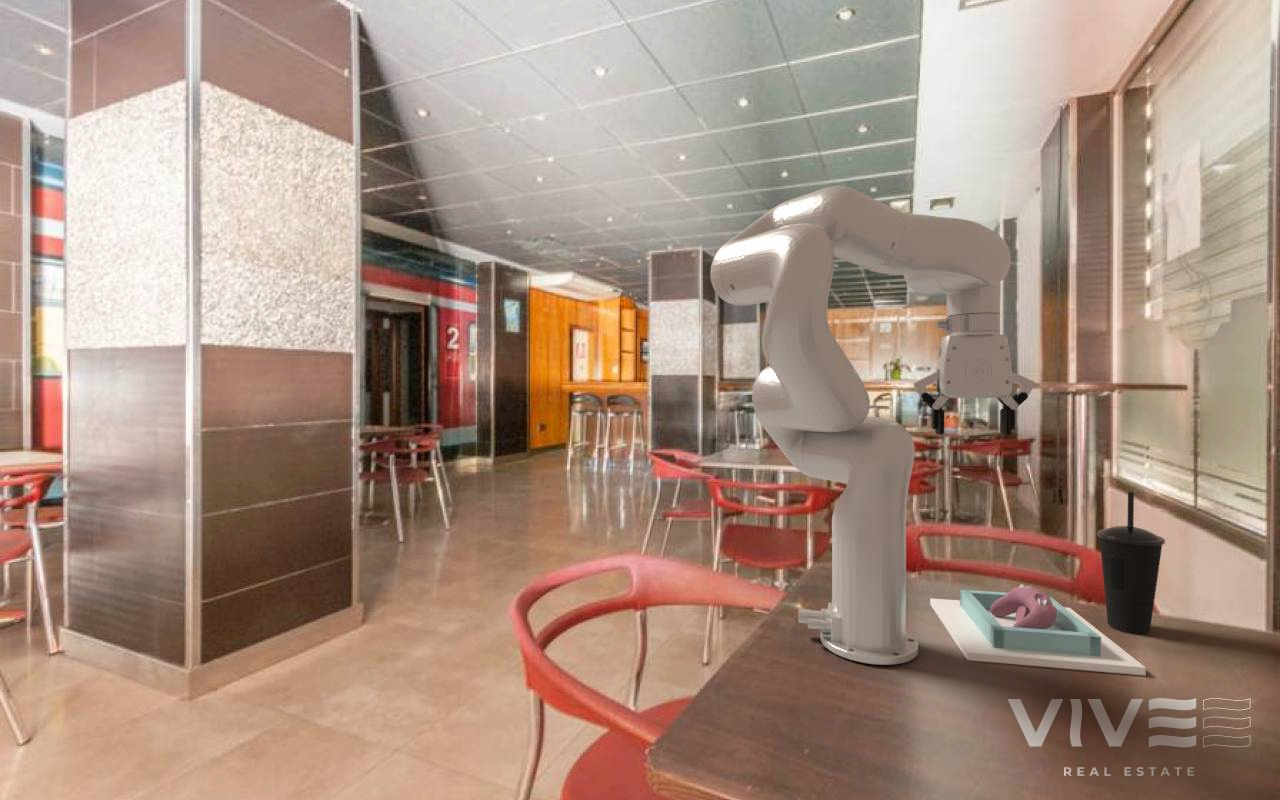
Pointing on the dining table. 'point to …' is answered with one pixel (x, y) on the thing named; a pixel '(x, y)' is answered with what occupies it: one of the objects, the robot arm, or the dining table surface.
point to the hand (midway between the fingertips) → (972, 434)
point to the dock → (1030, 637)
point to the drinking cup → (1130, 573)
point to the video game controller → (1026, 608)
